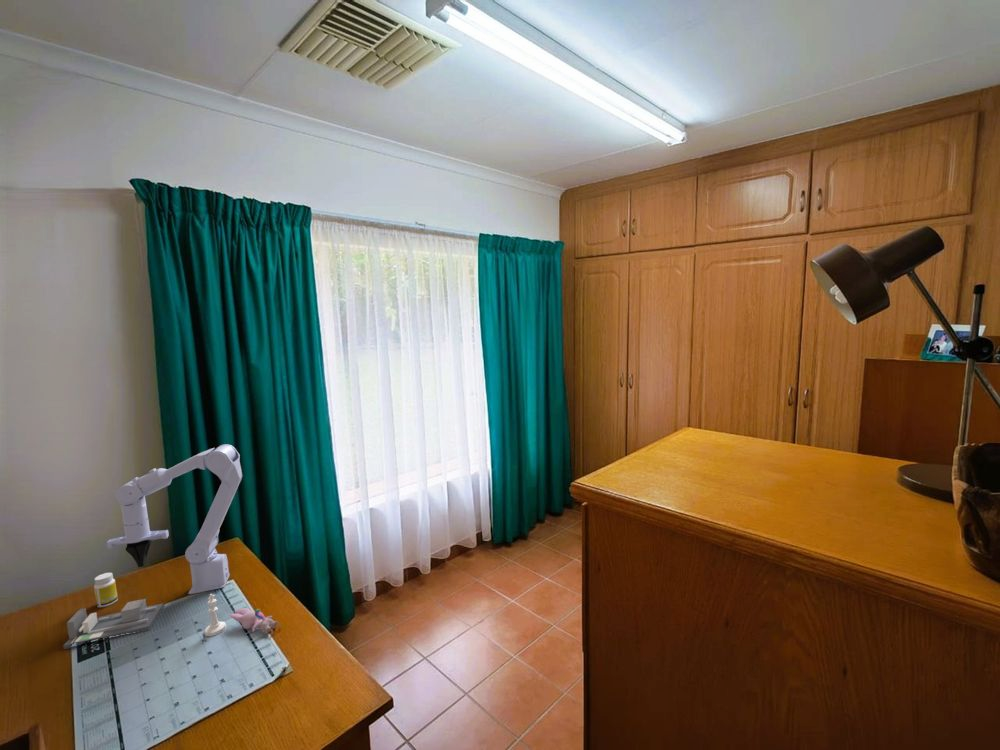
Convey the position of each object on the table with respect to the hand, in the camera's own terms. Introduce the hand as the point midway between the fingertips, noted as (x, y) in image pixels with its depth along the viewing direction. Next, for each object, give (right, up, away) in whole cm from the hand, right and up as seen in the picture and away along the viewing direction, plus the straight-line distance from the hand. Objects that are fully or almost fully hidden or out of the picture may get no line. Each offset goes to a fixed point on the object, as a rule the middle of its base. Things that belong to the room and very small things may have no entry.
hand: (142, 565), depth 134 cm
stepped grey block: (+6, -10, -12) cm, 16 cm away
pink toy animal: (+42, -10, -16) cm, 46 cm away
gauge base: (+3, -11, -13) cm, 17 cm away
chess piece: (+32, -10, -16) cm, 38 cm away
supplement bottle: (-9, -11, -1) cm, 14 cm away
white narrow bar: (-2, -11, -16) cm, 19 cm away
